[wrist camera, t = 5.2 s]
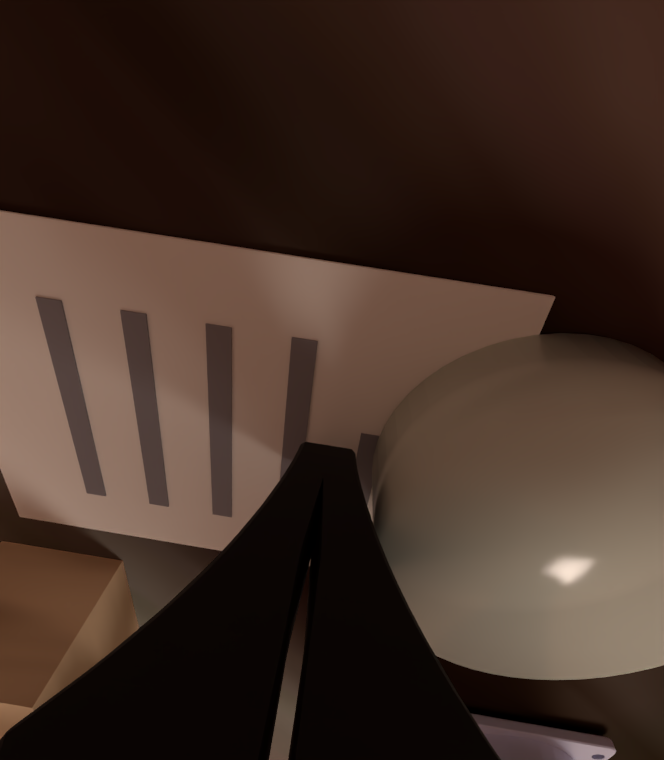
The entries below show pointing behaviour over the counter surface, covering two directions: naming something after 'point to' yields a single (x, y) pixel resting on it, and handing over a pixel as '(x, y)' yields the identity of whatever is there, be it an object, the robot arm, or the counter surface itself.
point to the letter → (206, 370)
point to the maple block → (55, 622)
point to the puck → (531, 507)
